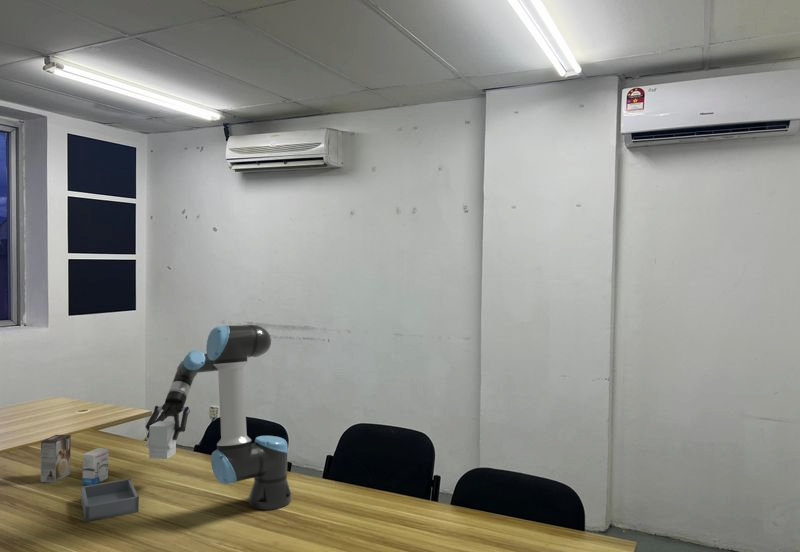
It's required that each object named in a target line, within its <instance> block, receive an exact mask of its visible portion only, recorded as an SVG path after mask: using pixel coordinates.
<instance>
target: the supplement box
mask: <svg viewBox="0 0 800 552" xmlns="http://www.w3.org/2000/svg"><path fill="white" fill-rule="evenodd" d="M172 430H175V422H174V421H170V420H169V421H168V420H165V421H158V422H156V423H154V424H152V425H150V426H149V431H148V432H149V448H148V458H149V459H153V460H154V459H156V460H167V459H169V458H171V457H172V456H174V455H176V451H177V449H176V448H177V440H174V442H173V445H172V448H171V449H169V448H168V446H167V444H168V441H169V439H170V436H171V433H172Z"/></svg>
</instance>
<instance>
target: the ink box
mask: <svg viewBox="0 0 800 552" xmlns="http://www.w3.org/2000/svg"><path fill="white" fill-rule="evenodd" d="M108 478H109V448H101V447H97V448H95V449H92V450H90V451H87V452H85V453H84V454H82V485H83V486H84V485H85V486H89V485H95V484H100V483H102V482H104V481H105V480H107V479H108Z"/></svg>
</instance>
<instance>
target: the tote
mask: <svg viewBox="0 0 800 552" xmlns="http://www.w3.org/2000/svg"><path fill="white" fill-rule="evenodd" d="M139 501H140V498H139V495H138V493H137V491H136V487H135V485H134V484H133V482H132V479H131V478H126V479H119V480H113V481H108V482H100V483H97V484H95V485H85V486H84V485H83V486H81V488H80V503H81V508H82V512H83V518H84V522H85V523H89V522H93V521H97V520H98V521H99V520H103V519H109V518H113V517H118V516H119V517H120V516H124V515H128V514H133V513H138V512H139V509H140V508H139V506H140V505H139V503H140V502H139Z"/></svg>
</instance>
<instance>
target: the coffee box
mask: <svg viewBox="0 0 800 552" xmlns="http://www.w3.org/2000/svg"><path fill="white" fill-rule="evenodd" d="M71 437H72V435H71V434H54V435H52V436H50V437H48V438H45V439H43V440H41V441H40V482H41V483H58V482H59V481H61V480H62V479H64V478H66V477H68V476H69V475H71V445H72V444H71V440H72V439H71Z"/></svg>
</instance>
